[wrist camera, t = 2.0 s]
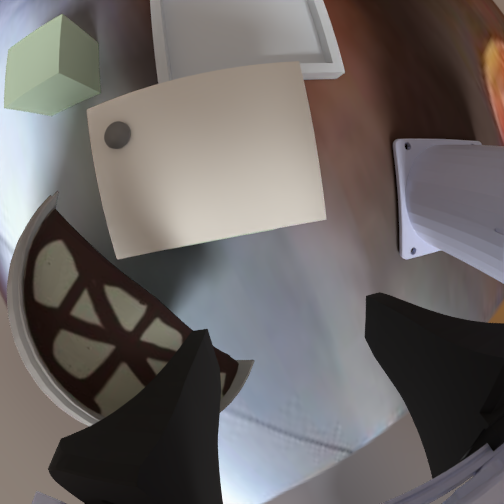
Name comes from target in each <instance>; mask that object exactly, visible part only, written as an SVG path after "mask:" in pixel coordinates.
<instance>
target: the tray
mask: <svg viewBox="0 0 504 504" xmlns="http://www.w3.org/2000/svg"><path fill="white" fill-rule="evenodd" d="M150 8H151V22H152V33H153V43H154V53H155V61H156V70H157V78H158V84H160V83H163V82H167V81H171V80H174V79H178V78H183V77H187V76H191V75H196V74H200V73H205V72H210V71H216V70H221V69H227V68H234V67H241V66H248V65H256V64H266V63H277V62H293V61H299V63H300V67H301V71H302V75H303V80H313V79H337V78H338V77H340V76H341V75H342V74H344V73H345V70H344V66H343V63H342V59H341V55H340V51H339V48H338V44H337V41H336V38H335V34H334V31H333V28H332V25H331V22H330V19H329V16H328V13H327V10H326V7H325V5H324V2H323V0H150Z"/></svg>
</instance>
